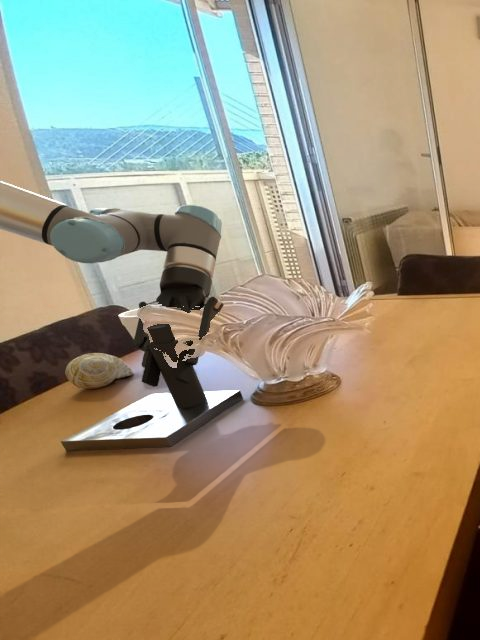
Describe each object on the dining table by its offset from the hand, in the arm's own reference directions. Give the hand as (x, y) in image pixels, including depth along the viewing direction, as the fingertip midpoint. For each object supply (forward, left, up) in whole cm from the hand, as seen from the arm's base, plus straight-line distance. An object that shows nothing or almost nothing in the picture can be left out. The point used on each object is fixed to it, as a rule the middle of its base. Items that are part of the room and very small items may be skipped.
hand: (166, 382), depth 88 cm
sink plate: (-4, 0, -8) cm, 9 cm away
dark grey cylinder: (-1, +4, -6) cm, 7 cm away
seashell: (-34, +20, -8) cm, 40 cm away
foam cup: (-31, +33, -8) cm, 46 cm away
